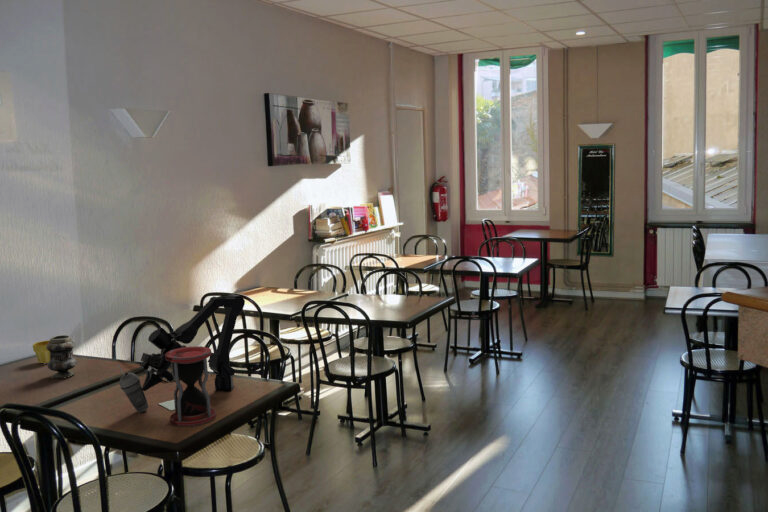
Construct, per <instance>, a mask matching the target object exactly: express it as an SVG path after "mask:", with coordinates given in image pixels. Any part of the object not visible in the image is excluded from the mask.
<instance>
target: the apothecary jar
mask: <svg viewBox="0 0 768 512" xmlns="http://www.w3.org/2000/svg"><path fill="white" fill-rule="evenodd" d="M71 337H72V336H70V335H68V334H59V335H55V336H50V337H49V340H50V342H49V343H48V344H47V346H46V348H47V350H48V351H50V361H49V362H48V364H46V365H47V368H48V369H49V370H50V371H53V372H56V373H54V374H53V375H52V376H51V377H53V378H64V377H68V376H72V375H74V374H75V375H76V372H75V371H71V369H73V368H75V367H76V366H77V362H78V361H77V360H76V358H74V348H75V346H76V342H75V341H74V340H72V338H71ZM75 375H74V376H75ZM72 377H73V376H72ZM53 378H52V379H53ZM64 379H65V378H64Z"/></svg>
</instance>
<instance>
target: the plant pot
mask: <svg viewBox="0 0 768 512" xmlns="http://www.w3.org/2000/svg"><path fill="white" fill-rule="evenodd" d="M49 342H50V339H49V340H42V341H37V342H35V343H33V344H32V348H33V349H32V351H33V352H34V353H35V356H36V358H37V361H38V364H39V363H48V362H49V361H50V351H48V350H47V348H46V346H47V344H48V343H49Z"/></svg>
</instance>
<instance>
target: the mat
mask: <svg viewBox="0 0 768 512" xmlns="http://www.w3.org/2000/svg"><path fill="white" fill-rule="evenodd" d="M158 405H159V406H161V407H163V408H165V409H167V410H169V411H175V403H174V399H171V400H166V401H163V402H159V403H158Z"/></svg>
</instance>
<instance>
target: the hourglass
mask: <svg viewBox="0 0 768 512" xmlns="http://www.w3.org/2000/svg"><path fill="white" fill-rule="evenodd" d="M211 352H212V349H211V348H210V347H206V346H186V347H184V348H178V349H174V350H171V351H169V352H167V353H166V354H165V359H166V360H167V361H169V362H171V369H172V375H173V378H174V379H175V381H174V382H175V384H176V385H175V389H174V391H173V400H174V403H175V410H174V411H175V412H173V413H172V414H171V415H170V417H169V423H170V424H171V425H173V426H176V427H195V426H201V425H203V424H208V423H209V422H212V421H213V420H215V418H216V417H217V413H216V412H217V411H216V410H215V409H214V408H212V407H211V400H210V394H209V393H208V391H207V390H206V389H207V388H206V384H207V381H208V379H209V372H208V370H209V369H208V358H210V356H211V354H212V353H213V352H212V353H211ZM203 375H204V379H203ZM179 379H180V380H179ZM180 381H181V382H183V383H184V384H185V385H186V386H187V387H185V389H184V388H183V385H182V384H181V382H180ZM196 383H198V386H199V387H200V388H198V387H197V386H195V385H196ZM200 389H201V390H200Z"/></svg>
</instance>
